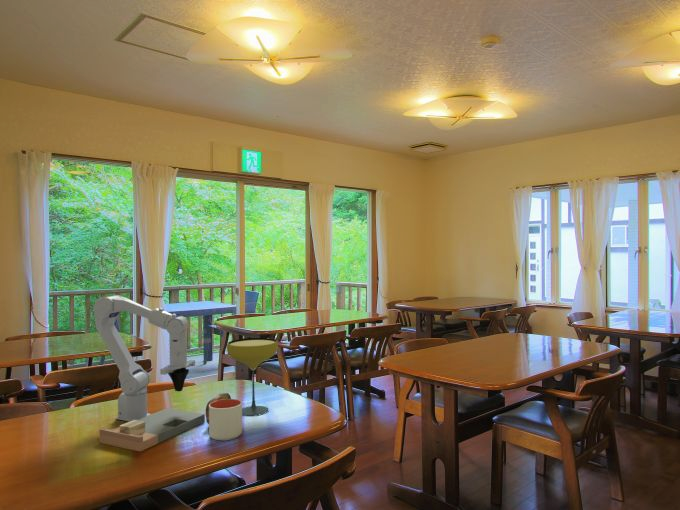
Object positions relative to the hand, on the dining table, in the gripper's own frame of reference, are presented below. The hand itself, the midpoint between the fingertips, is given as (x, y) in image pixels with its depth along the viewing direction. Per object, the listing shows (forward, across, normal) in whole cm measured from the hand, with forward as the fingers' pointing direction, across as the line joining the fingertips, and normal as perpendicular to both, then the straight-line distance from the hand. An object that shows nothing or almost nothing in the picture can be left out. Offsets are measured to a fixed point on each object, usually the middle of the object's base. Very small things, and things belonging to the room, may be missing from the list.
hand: (178, 390), depth 164 cm
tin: (+10, +3, -15) cm, 18 cm away
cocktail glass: (+10, +16, -20) cm, 27 cm away
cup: (+10, -7, -26) cm, 29 cm away
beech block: (+7, -22, -3) cm, 23 cm away
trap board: (+9, -13, -2) cm, 16 cm away
